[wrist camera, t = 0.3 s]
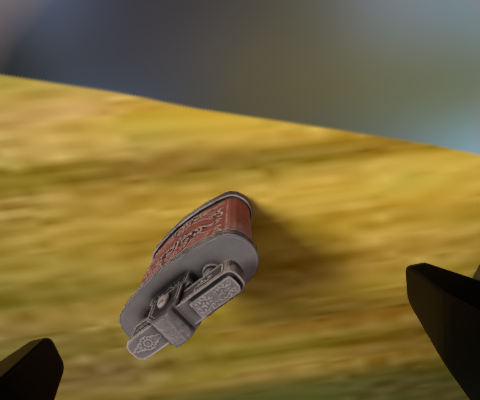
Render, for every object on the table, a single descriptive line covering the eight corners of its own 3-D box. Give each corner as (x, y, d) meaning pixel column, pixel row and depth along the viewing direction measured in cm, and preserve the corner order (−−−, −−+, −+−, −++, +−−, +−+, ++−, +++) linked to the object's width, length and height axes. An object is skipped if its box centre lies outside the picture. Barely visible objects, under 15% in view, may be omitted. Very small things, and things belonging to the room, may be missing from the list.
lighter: (176, 281, 24) (136, 399, 15) (144, 248, 24) (80, 351, 14) (262, 216, 23) (280, 301, 13) (231, 179, 22) (227, 241, 13)
